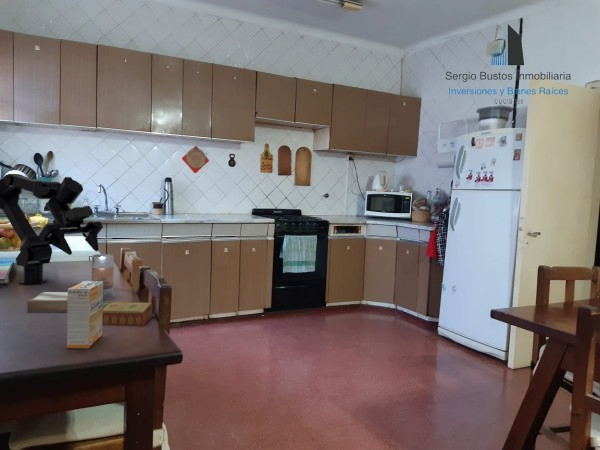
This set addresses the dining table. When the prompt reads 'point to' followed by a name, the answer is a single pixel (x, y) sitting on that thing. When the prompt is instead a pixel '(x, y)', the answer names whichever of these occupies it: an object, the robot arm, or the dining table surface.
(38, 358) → the dining table surface
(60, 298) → the board
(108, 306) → the carton
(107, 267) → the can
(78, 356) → the dining table surface
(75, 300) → the supplement box
